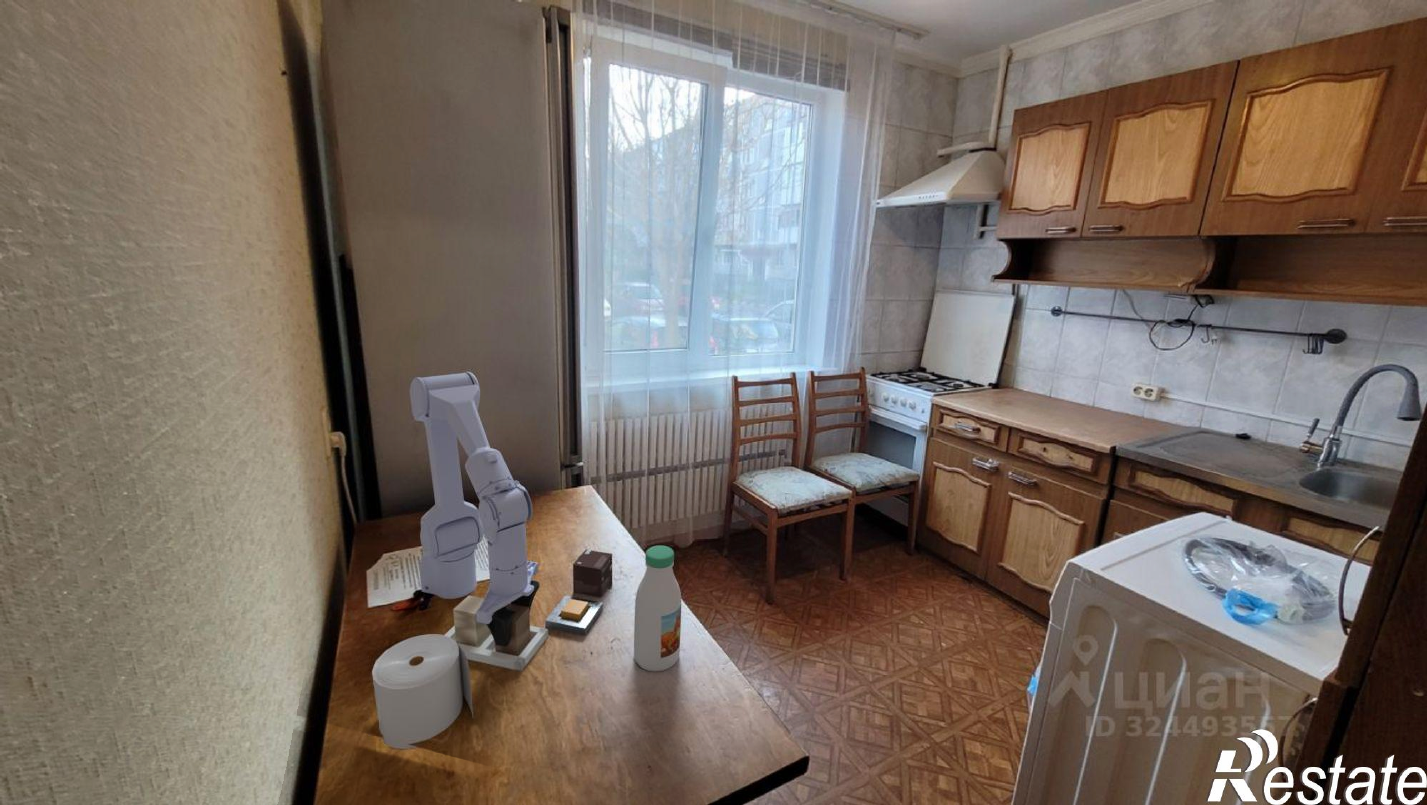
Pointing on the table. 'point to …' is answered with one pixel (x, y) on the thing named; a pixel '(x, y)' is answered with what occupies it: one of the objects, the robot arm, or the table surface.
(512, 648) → the block
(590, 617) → the button housing
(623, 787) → the table surface
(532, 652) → the light grey rectangular frame
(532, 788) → the table surface
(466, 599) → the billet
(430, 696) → the toilet tissue
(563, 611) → the button
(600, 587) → the box
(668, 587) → the milk bottle
